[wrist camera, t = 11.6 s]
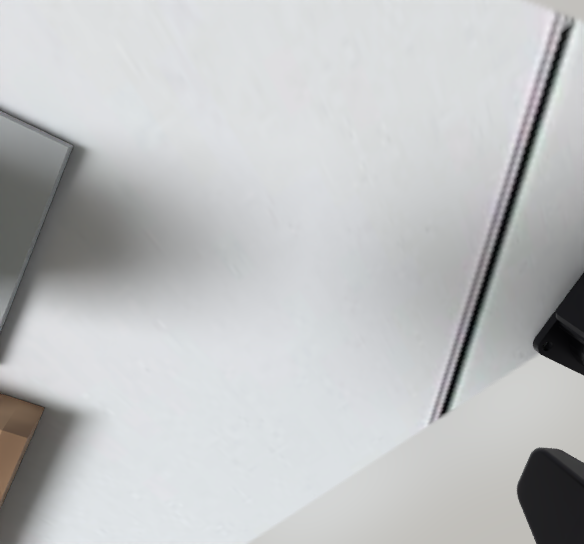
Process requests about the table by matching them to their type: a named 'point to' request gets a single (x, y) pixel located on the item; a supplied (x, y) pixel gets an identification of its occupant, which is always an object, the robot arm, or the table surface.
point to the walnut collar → (14, 436)
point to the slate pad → (24, 196)
